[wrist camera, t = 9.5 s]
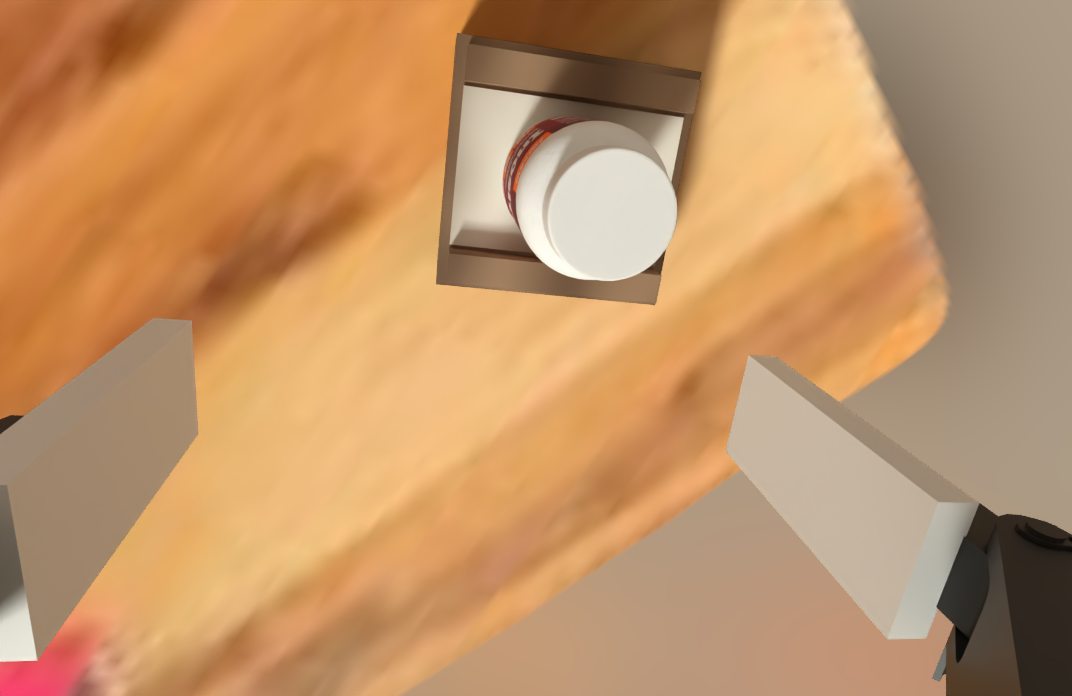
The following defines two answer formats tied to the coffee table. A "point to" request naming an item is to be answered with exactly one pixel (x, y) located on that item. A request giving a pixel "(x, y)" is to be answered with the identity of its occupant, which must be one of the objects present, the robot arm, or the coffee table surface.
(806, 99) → the coffee table surface
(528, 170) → the pill bottle
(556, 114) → the brown square open box
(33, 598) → the robot arm
